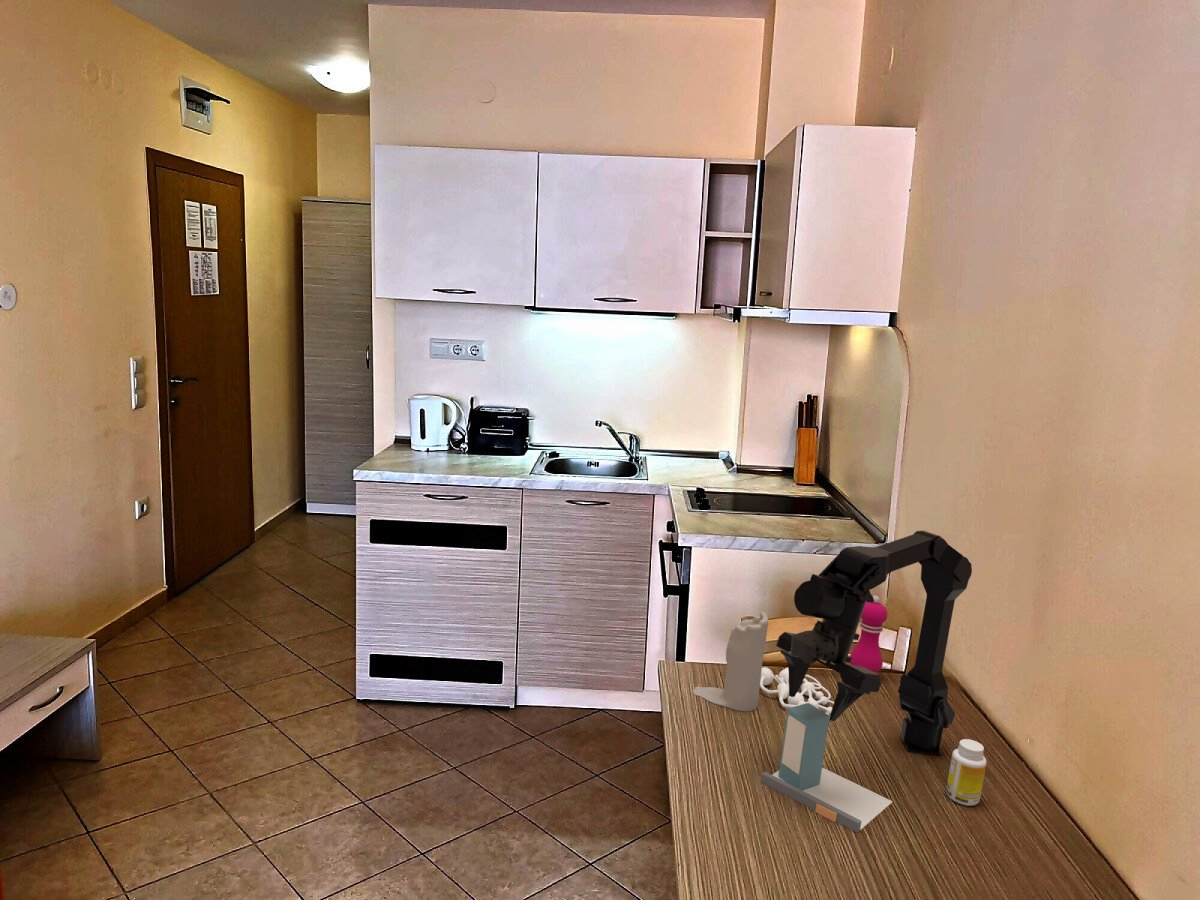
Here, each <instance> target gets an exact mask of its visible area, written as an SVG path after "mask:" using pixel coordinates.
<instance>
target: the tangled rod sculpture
mask: <svg viewBox="0 0 1200 900" xmlns="http://www.w3.org/2000/svg"><path fill="white" fill-rule="evenodd" d="M806 678H809V679H811V680H813V681H814V682H813V681H812V682H811V681H808V679H806ZM774 680H775V681H776V682H777V683H778V685H777V687H776V688H777V689H773V690H772V689H768V688H766V687H765V686H768V685H770V684H771V683H773V681H774ZM760 689H761V690H762V691H763V692H764V693H767V694H770V695H773V694H778V699H779V704H781V706H782V707H783V708H786V709H788V708H791V707H795V706H798V705H802V704H806V703H810V704H811V705H813V706H814V707H816V708H818V709H819V710H823V711H825V713H826V714H828V715H829V714H831V710H832V708H833V706H828V707H826V706H824V705H828V703H830V704H833V705H834V702H835V701H832V700H830V699H831V698H832V697H831V696H832V695H831V693H830V692H829V690H827V689H826V688H825V687H824V686H822V684H821V683H820V682H819V680H817V679H816V678H815V677H813V675H812V676H811V675H809V674H806V675H805V677H804V679H803V682H802V684H801V686H800V690H801V692H799V691H798V692H797V693H796V695H795V697H790V696H789V670H788V667H786V668H784V669H782V670H780V672H779V673H778V674H774V673H773V671H772V670H771V669H770V668H768V667H765V666H764V667H763V666H762V672H761V681H760ZM821 689H822V690H823V691H824V692H825V693H827V695H828V696H825V695H824V692H823V691H816V690H821ZM803 695H805V696H807V697H809V698H807V701H805V698H804V696H803ZM813 695H815V698H816V699H817V700H815V699H814V697H813ZM786 699H787V703H785V702H784V700H786ZM821 704H822V705H821ZM829 716H830V715H829ZM829 721H830V718H829Z"/></svg>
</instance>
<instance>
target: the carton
mask: <svg viewBox="0 0 1200 900" xmlns="http://www.w3.org/2000/svg"><path fill="white" fill-rule="evenodd" d="M818 708H819V707H818ZM818 708H816V707H814V706H813V705H811V704H810V703H806V704H802V705H798V706H795V707H791V708H787V712H786V719H785V726H784V733H783V740H782V749H781V756H780V761H779V762H780V763H779V769H778V770H779V775H778V777H779V778H781V779H782V780H784V781H785V782H786V783H788V784H790V785H792V786H794V787H796V788H798V789H800V790H802V791H803V790H806V789H809V788H811V787H814V786H817V785H820V779H821V772H822V768H823V765H824V764H823V763H824V757H825V751H826V743H827V738H828V730H829V723H830V720H829V718H830V716H829V715H828V714H826V712H825V711H824V710H822V709H820V708H819V709H820V710H819V709H818Z"/></svg>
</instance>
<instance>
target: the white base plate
mask: <svg viewBox="0 0 1200 900" xmlns="http://www.w3.org/2000/svg"><path fill="white" fill-rule="evenodd" d="M778 775H779V769H778V770H777V771H775V772H774V773H772V774H771V773H769V772H766V771H764V772H763V773H762V774H761V778H760V779H761V781H760V783H761V784H763V785H765V786H767V787H769V788H771V789H773V790H775V791H777V792H778V793H781V794H783V795H784V796H787V798H790V799H792V800H794V801H796V802H797V803H800V804H802V805H804V806H805V807H807V808H809V809H811V810H813V811H815V810H816V804H817V803H818V804H820V805H822V806H824V807H825V808H827V809H829V810H831V811H833V812H835V813H837V818H836V822H835V823H838V824H839V825H842V826H844V827H845V828H847V829H850V830H851V831H853V832H855V833H859V832H860V831H861V830H862V829H863V828H865V826H867V825H868V824H869V823H870V822H872V820H873V819H875V818H876V817H877V816H879V814H881V812H883V811H884V810H885V809H886V808H888V806H890V805H891V804H892V803H893V801H892V800H890V799H888V798H886V797H884V796H882V795H880V794H877V793H876V792H874V791H872V790H870V789H867V788H865V786H861V785H859V784H857V783H856V782H853V781H851V780H849V779H847V778H845V777H843V776H841V775H839V774H837V773H834V772H832V771H831V770H829V769H826V768H824V767H822V772H821V779H820V785H817V786H814V787H811V788H809V789H806V790H803V791H802V790H800V789H798V788H796V787H794V786H792V785H790V784H788V783H786V782H785V781H784V780H782V779H781V778H779V777H778Z"/></svg>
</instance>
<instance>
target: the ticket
mask: <svg viewBox="0 0 1200 900" xmlns="http://www.w3.org/2000/svg"><path fill="white" fill-rule="evenodd" d="M814 811H815V812H814V813H816V814H818V815H820V816H822V817H824V818H826V819H828V820H830V821H831V822H834V823H837V822H836V818H837V813H835V812H833V811H831V810H829V809H827V808H825V807H824V806H822V805H820V804H818V803H817V804H816V810H814Z"/></svg>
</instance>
